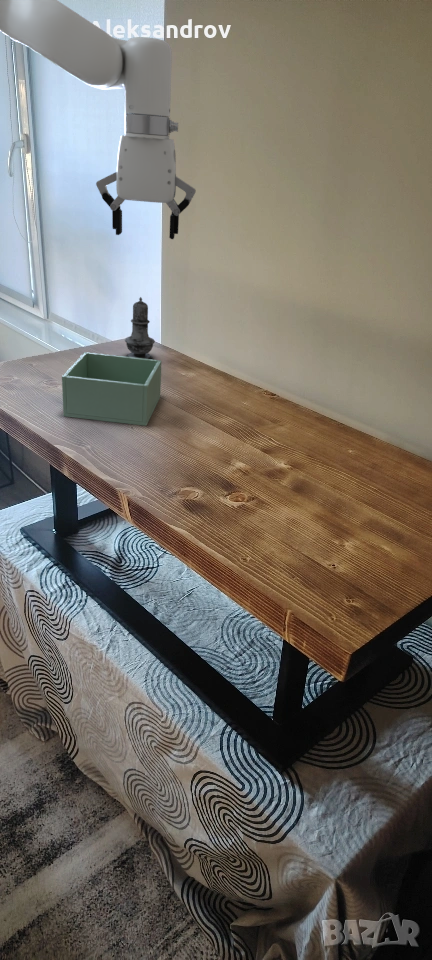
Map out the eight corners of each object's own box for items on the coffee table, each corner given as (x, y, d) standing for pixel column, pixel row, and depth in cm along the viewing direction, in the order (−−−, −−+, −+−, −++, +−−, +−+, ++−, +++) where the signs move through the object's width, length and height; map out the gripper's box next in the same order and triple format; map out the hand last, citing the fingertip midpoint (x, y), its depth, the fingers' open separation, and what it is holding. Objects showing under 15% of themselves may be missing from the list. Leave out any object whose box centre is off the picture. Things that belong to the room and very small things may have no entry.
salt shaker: (153, 363, 123) (154, 302, 117) (122, 361, 122) (123, 299, 116) (155, 354, 128) (157, 294, 122) (126, 351, 127) (127, 292, 121)
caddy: (63, 416, 98) (61, 376, 95) (85, 388, 109) (84, 351, 105) (146, 425, 97) (147, 386, 94) (160, 397, 108) (161, 360, 105)
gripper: (199, 132, 108) (193, 236, 117) (99, 123, 108) (101, 229, 116) (197, 132, 102) (192, 243, 110) (91, 123, 101) (93, 235, 110)
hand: (145, 236), depth 113 cm, fingers open, 9 cm apart
